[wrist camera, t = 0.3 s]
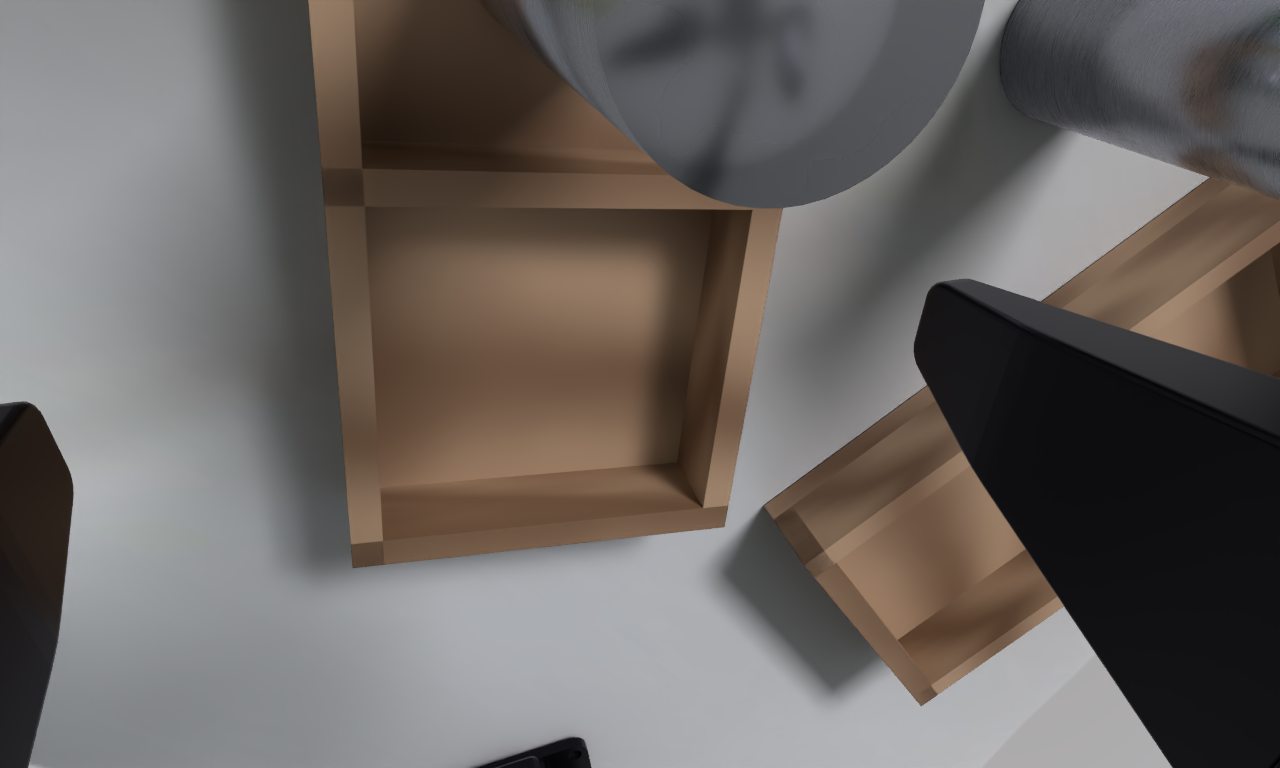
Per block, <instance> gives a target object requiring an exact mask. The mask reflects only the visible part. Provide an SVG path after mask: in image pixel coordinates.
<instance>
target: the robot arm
mask: <svg viewBox="0 0 1280 768" xmlns="http://www.w3.org/2000/svg"><path fill="white" fill-rule="evenodd" d="M914 357H915V361H916V364H917V366H918V368H919V370H920V372H921V374H922V376H923V378H924V380H925V382H926V383H927V385H928V387H929V389H930V391H931V393H932V395H933V397H934V399H935V401H936V402H937V404H938V406H939V408H940V410H941V412H942V414H943V416H944V418H945V420H946V421H947V423H948V425H949V427H950V429H951V431H952V433H953V435H954V437H955V438H956V440H957V442H958V444H959V446H960V448H961V450H962V452H963V453H964V455H965V457H966V459H967V461H968V462H969V464H970V466H971V468H972V469H973V471H974V472H975V474H976V475H977V477H978V479H979V480H980V482H981V483H982V485H983V486H984V488H985V489H986V491H987V492H988V494H989V495H990V497H991V498H992V500H993V501H994V503H995V504H996V506H997V507H998V509H999V510H1000V512H1001V513H1002V515H1003V516H1004V518H1005V519H1006V521H1007V522H1008V524H1009V525H1010V527H1011V528H1012V530H1013V531H1014V533H1015V534H1016V536H1017V537H1018V538H1019V540H1020V541H1021V543H1022V544H1023V546H1024V547H1025V549H1026V550H1027V552H1028V553H1029V555H1030V556H1031V558H1032V559H1033V561H1034V562H1035V564H1036V565H1037V567H1038V568H1039V570H1040V571H1041V573H1042V574H1043V576H1044V577H1045V579H1046V580H1047V582H1048V583H1049V585H1050V586H1051V588H1052V589H1053V591H1054V592H1055V594H1056V595H1057V597H1058V598H1059V600H1060V601H1061V603H1062V604H1063V605H1064V607H1065V608H1066V610H1067V611H1068V613H1069V614H1070V616H1071V617H1072V619H1073V620H1074V622H1075V623H1076V625H1077V626H1078V628H1079V629H1080V631H1081V632H1082V634H1083V635H1084V637H1085V638H1086V640H1087V641H1088V643H1089V644H1090V646H1091V647H1092V649H1093V650H1094V652H1095V653H1096V655H1097V656H1098V658H1099V659H1100V660H1101V662H1102V664H1103V665H1104V667H1105V668H1106V669H1107V671H1108V672H1109V674H1110V675H1111V677H1112V678H1113V680H1114V681H1115V683H1116V684H1117V686H1118V687H1119V689H1120V690H1121V692H1122V693H1123V695H1124V696H1125V698H1126V699H1127V701H1128V702H1129V704H1130V705H1131V707H1132V708H1133V710H1134V711H1135V713H1136V714H1137V715H1138V717H1139V719H1140V720H1141V721H1142V723H1143V725H1144V726H1145V728H1146V729H1147V731H1148V732H1149V733H1150V735H1151V736H1152V738H1153V739H1154V741H1155V742H1156V744H1157V745H1158V747H1159V748H1160V750H1161V751H1162V753H1163V754H1164V756H1165V757H1166V759H1167V760H1168V762H1169V763H1170V765H1171V766H1172V768H1280V379H1279V378H1276V377H1273V376H1270V375H1267V374H1264V373H1260V372H1257V371H1254V370H1251V369H1248V368H1245V367H1242V366H1239V365H1236V364H1232V363H1229V362H1226V361H1223V360H1220V359H1217V358H1214V357H1211V356H1208V355H1205V354H1201V353H1198V352H1195V351H1192V350H1189V349H1186V348H1183V347H1180V346H1177V345H1173V344H1170V343H1167V342H1164V341H1161V340H1158V339H1155V338H1152V337H1149V336H1146V335H1142V334H1139V333H1136V332H1133V331H1130V330H1127V329H1124V328H1121V327H1118V326H1114V325H1111V324H1108V323H1105V322H1102V321H1099V320H1096V319H1093V318H1090V317H1087V316H1083V315H1080V314H1077V313H1074V312H1071V311H1068V310H1065V309H1062V308H1059V307H1055V306H1052V305H1049V304H1046V303H1043V302H1040V301H1037V300H1034V299H1031V298H1028V297H1024V296H1021V295H1018V294H1015V293H1012V292H1009V291H1006V290H1003V289H1000V288H996V287H993V286H990V285H987V284H984V283H981V282H978V281H975V280H971V279H959V280H951V281H944V282H939V283H936V284H935V285H933V286H932V287H931V289H930V290H929V292H928V294H927V296H926V300H925V304H924V308H923V311H922V315H921V319H920V323H919V326H918V330H917V334H916V338H915V342H914ZM73 494H74V493H73V482H72V477H71V474H70V471H69V469H68V466H67V464H66V462H65V460H64V458H63V456H62V454H61V452H60V450H59V448H58V446H57V444H56V442H55V440H54V438H53V436H52V434H51V431H50V429H49V427H48V425H47V423H46V421H45V419H44V417H43V415H42V414H41V412H40V411H39V410H38V409H37V408H36V406H35V405H33V404H31V403H28V402H24V401H22V402H13V403H5V404H0V768H28V766H29V761H30V757H31V753H32V749H33V745H34V741H35V737H36V733H37V729H38V725H39V720H40V716H41V712H42V708H43V704H44V700H45V696H46V692H47V688H48V684H49V679H50V675H51V671H52V667H53V662H54V657H55V653H56V648H57V643H58V636H59V629H60V622H61V613H62V603H63V594H64V584H65V574H66V564H67V555H68V545H69V535H70V526H71V516H72V506H73ZM481 768H591V764H590V759H589V755H588V750H587V747H586V743H585V741H584V740H583V739H582V738H571V739H568V740H565V741H562V742H558V743H555V744H552V745H549V746H546V747H543V748H540V749H537V750H534V751H531V752H527V753H524V754H521V755H518V756H515V757H512V758H509V759H506V760H503V761H500V762H496V763H493V764H490V765H487V766H484V767H481Z"/></svg>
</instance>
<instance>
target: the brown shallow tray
mask: <svg viewBox="0 0 1280 768" xmlns="http://www.w3.org/2000/svg"><path fill="white" fill-rule="evenodd" d="M308 2H309V15H310V28H311V41H312V54H313V66H314V79H315V92H316V105H317V118H318V130H319V143H320V156H321V169H322V182H323V194H324V207H325V220H326V233H327V246H328V259H329V271H330V284H331V297H332V310H333V323H334V335H335V348H336V361H337V374H338V387H339V399H340V412H341V425H342V438H343V451H344V464H345V476H346V489H347V502H348V515H349V528H350V540H351V553H352V566H353V568H358V567H367V566H376V565H385V564H394V563H403V562H413V561H422V560H431V559H440V558H449V557H458V556H467V555H476V554H485V553H494V552H503V551H512V550H521V549H530V548H539V547H548V546H557V545H567V544H576V543H585V542H594V541H603V540H612V539H621V538H630V537H639V536H648V535H657V534H666V533H675V532H684V531H693V530H702V529H712V528H721V527H724V526H725V521H726V516H727V510H728V505H729V499H730V494H731V488H732V483H733V477H734V472H735V466H736V461H737V455H738V450H739V445H740V439H741V434H742V428H743V423H744V417H745V412H746V406H747V401H748V395H749V390H750V384H751V379H752V374H753V368H754V363H755V357H756V352H757V346H758V341H759V335H760V330H761V324H762V319H763V313H764V308H765V303H766V297H767V292H768V286H769V281H770V275H771V270H772V264H773V259H774V253H775V248H776V242H777V237H778V232H779V226H780V221H781V215H782V210H783V208H750V207H743V206H736V205H732V204H728V203H725V202H721V201H718V200H714V199H712V198H709V197H707V196H705V195H703V194H701V193H698V192H696V191H694V190H692V189H690V188H689V187H687V186H686V185H684V184H683V183H681V182H679V181H678V180H676V179H675V178H673V177H672V176H671V175H669V174H668V173H667V172H666V171H665V170H664V169H663V168H662V167H660V166H659V165H658V164H657V163H656V162H655V161H654V160H652V159H651V158H650V157H649V156H648V155H647V154H646V153H645V152H643V151H642V150H641V149H640V148H639V147H638V146H637V145H636V144H634V143H633V142H632V141H631V140H630V139H629V138H628V137H627V136H625V135H624V134H623V133H622V132H621V131H620V130H619V129H617V128H616V127H615V126H614V125H613V124H612V123H611V122H610V121H608V120H607V119H606V118H605V117H604V116H603V115H602V114H601V113H599V112H598V111H597V110H596V109H595V108H594V107H593V106H591V105H590V104H589V103H588V102H587V101H586V100H585V99H584V98H582V97H581V96H580V95H579V94H578V93H577V92H576V91H575V90H573V89H572V88H571V87H570V86H569V85H568V84H567V83H566V82H564V81H563V80H562V79H561V78H560V77H559V76H558V75H556V74H555V73H554V72H553V71H552V70H551V69H550V68H549V67H547V66H546V65H545V64H544V63H543V62H542V61H541V60H540V59H538V58H537V57H536V56H535V55H534V54H533V53H532V52H530V51H529V50H528V49H527V48H526V47H525V46H524V45H523V44H521V43H520V42H519V41H518V40H517V39H516V38H515V37H514V36H512V35H511V34H510V33H509V32H508V31H507V30H506V29H505V28H503V27H502V26H501V25H500V24H499V23H498V22H497V21H495V19H494V18H493V17H492V16H491V15H490V14H489V13H488V11H487V10H486V9H485V7H484V6H483V5H482V3H481V2H480V0H308Z"/></svg>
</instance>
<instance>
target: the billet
mask: <svg viewBox="0 0 1280 768" xmlns="http://www.w3.org/2000/svg"><path fill="white" fill-rule="evenodd" d="M1000 73H1001V79H1002V84H1003V87H1004V90H1005V92H1006V94H1007V96H1008V98H1009V100H1010V101H1011V103H1012V104H1013V105H1014V106H1015V107H1016V108H1017V109H1018V110H1019V111H1020V112H1022V113H1023V114H1025V115H1027V116H1029V117H1032V118H1035V119H1038V120H1041V121H1044V122H1047V123H1050V124H1053V125H1056V126H1059V127H1062V128H1065V129H1068V130H1071V131H1074V132H1077V133H1080V134H1083V135H1085V136H1088V137H1091V138H1094V139H1097V140H1100V141H1103V142H1106V143H1109V144H1112V145H1115V146H1118V147H1121V148H1124V149H1127V150H1130V151H1133V152H1136V153H1139V154H1142V155H1145V156H1148V157H1151V158H1154V159H1157V160H1160V161H1163V162H1166V163H1169V164H1172V165H1175V166H1178V167H1181V168H1184V169H1187V170H1190V171H1193V172H1196V173H1199V174H1202V175H1205V176H1208V177H1211V178H1214V179H1217V180H1220V181H1223V182H1226V183H1229V184H1232V185H1235V186H1238V187H1241V188H1244V189H1247V190H1250V191H1253V192H1256V193H1259V194H1262V195H1265V196H1268V197H1271V198H1274V199H1277V200H1280V0H1020V1H1019V2H1018V4H1017V6H1016V7H1015V9H1014V11H1013V13H1012V15H1011V17H1010V19H1009V22H1008V25H1007V27H1006V30H1005V34H1004V37H1003V41H1002V47H1001V54H1000Z"/></svg>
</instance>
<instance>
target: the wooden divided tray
mask: <svg viewBox="0 0 1280 768" xmlns="http://www.w3.org/2000/svg"><path fill="white" fill-rule="evenodd" d="M1042 302H1043V303H1046V304H1049V305H1052V306H1055V307H1059V308H1062V309H1065V310H1068V311H1071V312H1074V313H1077V314H1080V315H1083V316H1087V317H1090V318H1093V319H1096V320H1099V321H1102V322H1105V323H1108V324H1111V325H1114V326H1118V327H1121V328H1124V329H1127V330H1130V331H1133V332H1136V333H1139V334H1142V335H1146V336H1149V337H1152V338H1155V339H1158V340H1161V341H1164V342H1167V343H1170V344H1173V345H1177V346H1180V347H1183V348H1186V349H1189V350H1192V351H1195V352H1198V353H1201V354H1205V355H1208V356H1211V357H1214V358H1217V359H1220V360H1223V361H1226V362H1229V363H1232V364H1236V365H1239V366H1242V367H1245V368H1248V369H1251V370H1254V371H1257V372H1260V373H1264V374H1267V375H1270V376H1273V377H1276V378H1279V379H1280V200H1277V199H1274V198H1271V197H1268V196H1265V195H1262V194H1259V193H1256V192H1253V191H1250V190H1247V189H1244V188H1241V187H1238V186H1235V185H1232V184H1229V183H1226V182H1223V181H1220V180H1217V179H1214V178H1209V179H1208V180H1207V181H1205V182H1204V183H1203V184H1201V185H1200V186H1199V187H1197V188H1196V189H1194V190H1193V191H1192V192H1190V193H1189V194H1188V195H1186V196H1185V197H1184V198H1182V199H1181V200H1179V201H1178V202H1177V203H1175V204H1174V205H1173V206H1171V207H1170V208H1169V209H1167V210H1166V211H1164V212H1163V213H1162V214H1160V215H1159V216H1158V217H1156V218H1155V219H1154V220H1152V221H1151V222H1150V223H1148V224H1147V225H1145V226H1144V227H1143V228H1141V229H1140V230H1139V231H1137V232H1136V233H1135V234H1133V235H1132V236H1130V237H1129V238H1128V239H1126V240H1125V241H1124V242H1122V243H1121V244H1120V245H1118V246H1117V247H1115V248H1114V249H1113V250H1111V251H1110V252H1109V253H1107V254H1106V255H1105V256H1103V257H1102V258H1101V259H1099V260H1098V261H1096V262H1095V263H1094V264H1092V265H1091V266H1090V267H1088V268H1087V269H1086V270H1084V271H1083V272H1081V273H1080V274H1079V275H1077V276H1076V277H1075V278H1073V279H1072V280H1071V281H1069V282H1068V283H1066V284H1065V285H1064V286H1062V287H1061V288H1060V289H1058V290H1057V291H1056V292H1054V293H1053V294H1052V295H1050V296H1049V297H1047V298H1046V299H1045V300H1043V301H1042ZM764 507H765V508H766V509H767V511H768V512H769V514H770V515H771V517H772V518H773V520H774V521H775V523H776V524H777V526H778V527H779V529H780V530H781V532H782V533H783V535H784V536H785V538H786V539H787V541H788V542H789V544H790V545H791V547H792V548H793V550H794V551H795V552H796V554H797V555H798V557H799V558H800V560H801V561H802V563H803V564H804V566H805V567H806V568H807V569H808V571H809V572H810V573H811V574H812V575H813V577H814V578H815V579H816V580H817V581H818V583H819V584H820V585H821V586H822V587H823V589H824V590H825V591H826V592H827V593H828V595H829V596H830V597H831V598H832V599H833V601H834V602H835V603H836V604H837V605H838V607H839V608H840V609H841V610H842V612H843V613H844V614H845V615H846V616H847V618H848V619H849V620H850V621H851V622H852V624H853V625H854V626H855V627H856V628H857V630H858V631H859V632H860V633H861V634H862V636H863V637H864V638H865V639H866V640H867V642H868V643H869V644H870V645H871V646H872V648H873V649H874V650H875V651H876V652H877V654H878V655H879V656H880V657H881V659H882V660H883V661H884V662H885V663H886V665H887V666H888V667H889V668H890V669H891V671H892V672H893V673H894V674H895V675H896V677H897V678H898V679H899V680H900V681H901V683H902V684H903V685H904V686H905V687H906V689H907V690H908V691H909V692H910V693H911V695H912V696H913V697H914V698H915V699H916V701H917V702H918V703H919V704H920V706H922V705H924V704H925V703H927V702H928V701H929V700H931V699H932V698H934V697H935V696H937V695H938V694H939V693H941V692H942V691H944V690H945V689H947V688H948V687H949V686H951V685H952V684H954V683H955V682H957V681H958V680H959V679H961V678H962V677H964V676H965V675H967V674H968V673H969V672H971V671H972V670H974V669H975V668H977V667H978V666H979V665H981V664H982V663H984V662H985V661H987V660H988V659H990V658H991V657H992V656H994V655H995V654H997V653H998V652H1000V651H1001V650H1002V649H1004V648H1005V647H1007V646H1008V645H1010V644H1011V643H1012V642H1014V641H1015V640H1017V639H1018V638H1020V637H1021V636H1022V635H1024V634H1025V633H1027V632H1028V631H1030V630H1031V629H1032V628H1034V627H1035V626H1037V625H1038V624H1040V623H1041V622H1042V621H1044V620H1045V619H1047V618H1048V617H1050V616H1051V615H1052V614H1054V613H1055V612H1057V611H1058V610H1060V609H1061V608H1062V607H1064V605H1063V604H1062V603H1061V601H1060V600H1059V598H1058V597H1057V595H1056V594H1055V592H1054V591H1053V589H1052V588H1051V586H1050V585H1049V583H1048V582H1047V580H1046V579H1045V577H1044V576H1043V574H1042V573H1041V571H1040V570H1039V568H1038V567H1037V565H1036V564H1035V562H1034V561H1033V559H1032V558H1031V556H1030V555H1029V553H1028V552H1027V550H1026V549H1025V547H1024V546H1023V544H1022V543H1021V541H1020V540H1019V538H1018V537H1017V536H1016V534H1015V533H1014V531H1013V530H1012V528H1011V527H1010V525H1009V524H1008V522H1007V521H1006V519H1005V518H1004V516H1003V515H1002V513H1001V512H1000V510H999V509H998V507H997V506H996V504H995V503H994V501H993V500H992V498H991V497H990V495H989V494H988V492H987V491H986V489H985V488H984V486H983V485H982V483H981V482H980V480H979V479H978V477H977V475H976V474H975V472H974V471H973V469H972V468H971V466H970V464H969V462H968V461H967V459H966V457H965V455H964V453H963V452H962V450H961V448H960V446H959V444H958V442H957V440H956V438H955V437H954V435H953V433H952V431H951V429H950V427H949V425H948V423H947V421H946V420H945V418H944V416H943V414H942V412H941V410H940V408H939V406H938V404H937V402H936V401H935V399H934V397H933V395H932V393H931V391H930V389H929V387H928V386H926V387H925V388H924V389H922V390H921V391H919V392H918V393H917V394H915V395H914V396H913V397H911V398H910V399H909V400H907V401H906V402H904V403H903V404H902V405H900V406H899V407H898V408H896V409H895V410H894V411H892V412H891V413H890V414H888V415H887V416H885V417H884V418H883V419H881V420H880V421H879V422H877V423H876V424H875V425H873V426H872V427H870V428H869V429H868V430H866V431H865V432H864V433H862V434H861V435H860V436H858V437H857V438H855V439H854V440H853V441H851V442H850V443H849V444H847V445H846V446H845V447H843V448H842V449H841V450H839V451H838V452H836V453H835V454H834V455H832V456H831V457H830V458H828V459H827V460H826V461H824V462H823V463H821V464H820V465H819V466H817V467H816V468H815V469H813V470H812V471H811V472H809V473H808V474H806V475H805V476H804V477H802V478H801V479H800V480H798V481H797V482H796V483H794V484H793V485H792V486H790V487H789V488H787V489H786V490H785V491H783V492H782V493H781V494H779V495H778V496H777V497H775V498H774V499H772V500H771V501H770V502H768V503H767V504H766V505H764Z"/></svg>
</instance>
